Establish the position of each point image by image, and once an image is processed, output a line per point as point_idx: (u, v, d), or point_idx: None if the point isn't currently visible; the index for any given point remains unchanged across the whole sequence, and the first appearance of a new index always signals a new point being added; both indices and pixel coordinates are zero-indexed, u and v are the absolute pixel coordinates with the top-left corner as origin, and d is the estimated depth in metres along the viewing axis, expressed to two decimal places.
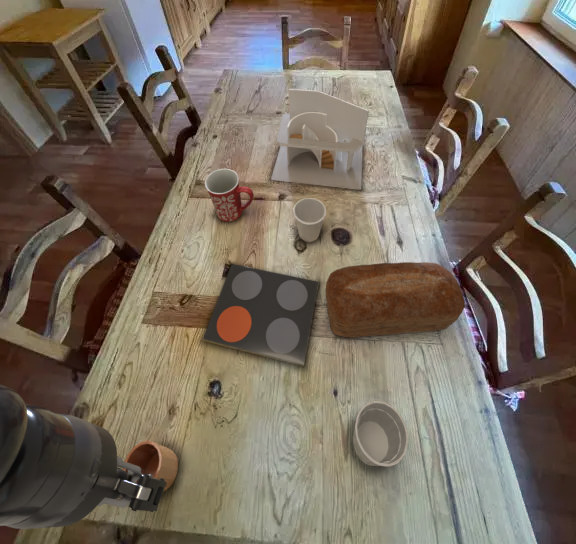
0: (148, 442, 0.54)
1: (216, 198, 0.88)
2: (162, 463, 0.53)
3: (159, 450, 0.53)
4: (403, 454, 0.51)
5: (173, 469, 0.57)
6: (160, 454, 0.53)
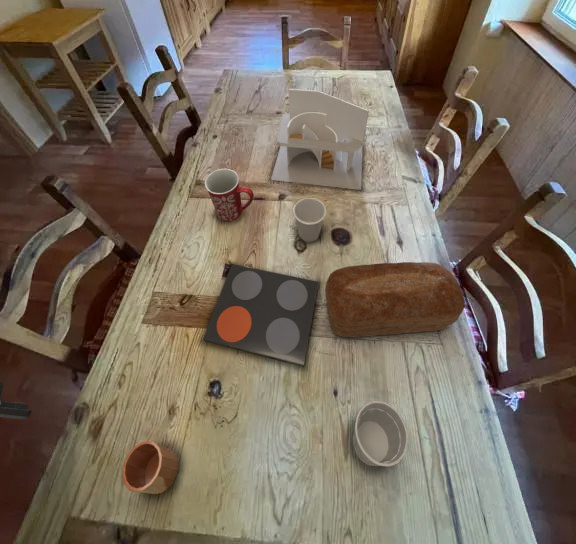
0: (148, 442, 0.54)
1: (215, 198, 0.88)
2: (162, 463, 0.53)
3: (159, 450, 0.53)
4: (403, 454, 0.51)
5: (173, 469, 0.57)
6: (160, 454, 0.53)
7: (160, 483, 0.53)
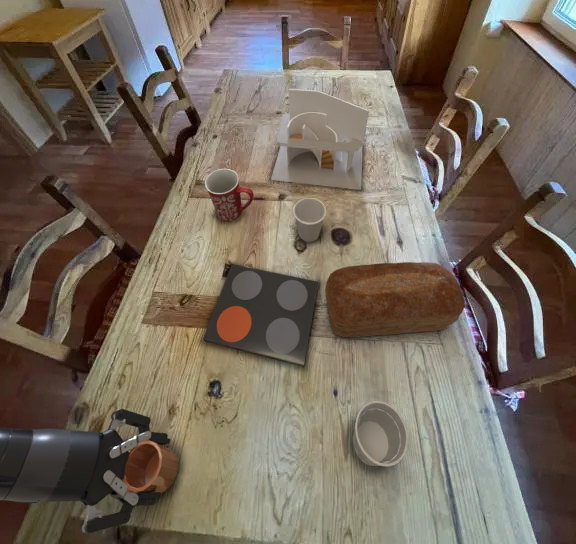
0: (148, 442, 0.54)
1: (216, 198, 0.88)
2: (162, 463, 0.53)
3: (159, 450, 0.53)
4: (403, 454, 0.51)
5: (173, 469, 0.57)
6: (160, 454, 0.53)
7: (160, 483, 0.53)
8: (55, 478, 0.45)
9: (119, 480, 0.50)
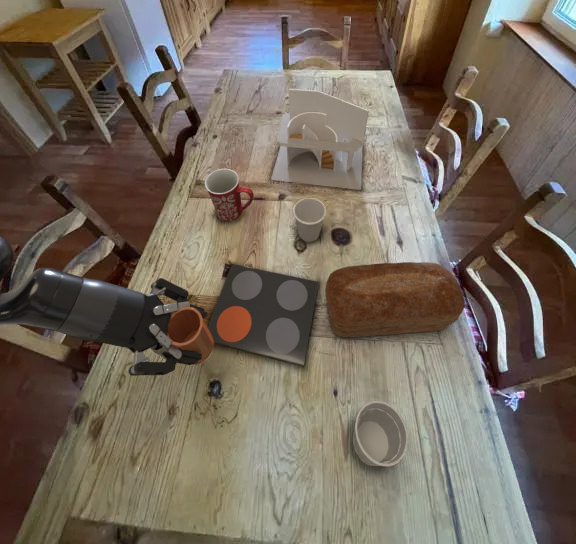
0: (188, 308, 0.55)
1: (216, 198, 0.88)
2: (203, 325, 0.54)
3: (199, 314, 0.55)
4: (403, 454, 0.51)
5: (210, 341, 0.58)
6: (201, 317, 0.54)
7: (200, 346, 0.55)
8: (106, 315, 0.46)
9: (163, 334, 0.51)
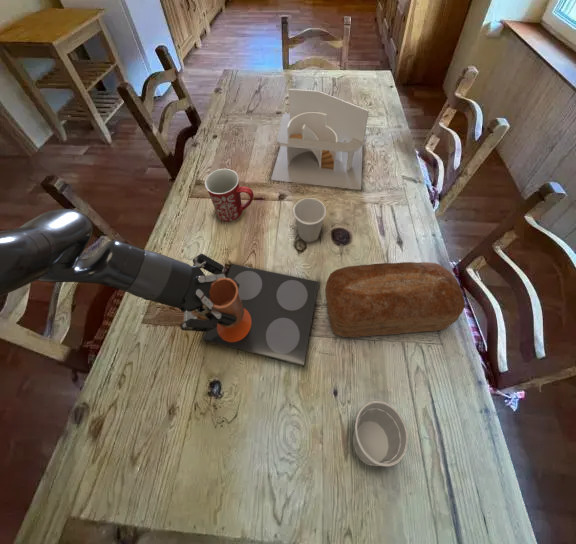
0: (225, 278, 0.66)
1: (216, 198, 0.88)
2: (238, 292, 0.65)
3: (235, 283, 0.65)
4: (403, 454, 0.51)
5: (242, 308, 0.69)
6: (236, 285, 0.65)
7: (235, 310, 0.65)
8: (164, 279, 0.56)
9: (207, 298, 0.62)
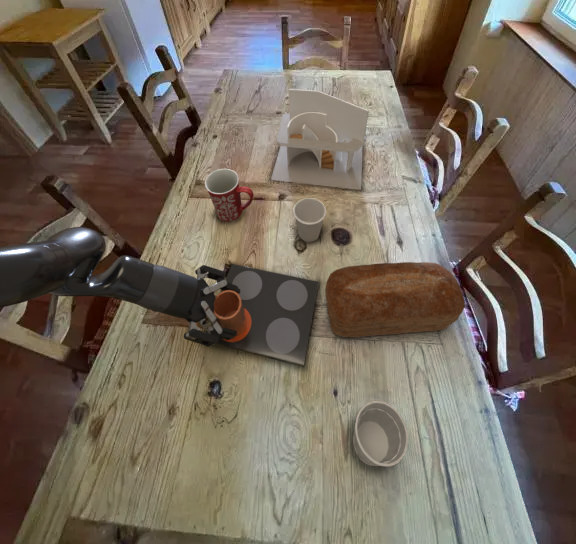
0: (229, 291, 0.70)
1: (216, 198, 0.88)
2: (241, 304, 0.68)
3: (238, 295, 0.69)
4: (403, 454, 0.51)
5: (245, 318, 0.73)
6: (239, 297, 0.69)
7: (239, 321, 0.69)
8: (172, 292, 0.60)
9: (211, 311, 0.65)
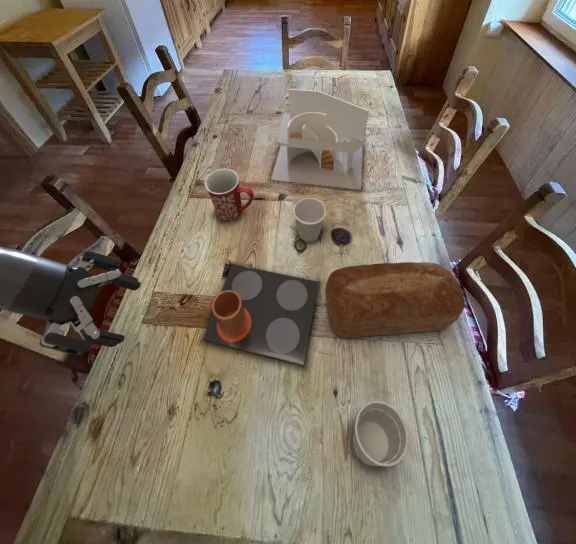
0: (229, 291, 0.70)
1: (215, 198, 0.88)
2: (241, 304, 0.68)
3: (238, 295, 0.69)
4: (403, 454, 0.51)
5: (245, 318, 0.73)
6: (239, 297, 0.69)
7: (239, 321, 0.69)
8: (19, 284, 0.45)
9: (85, 310, 0.50)
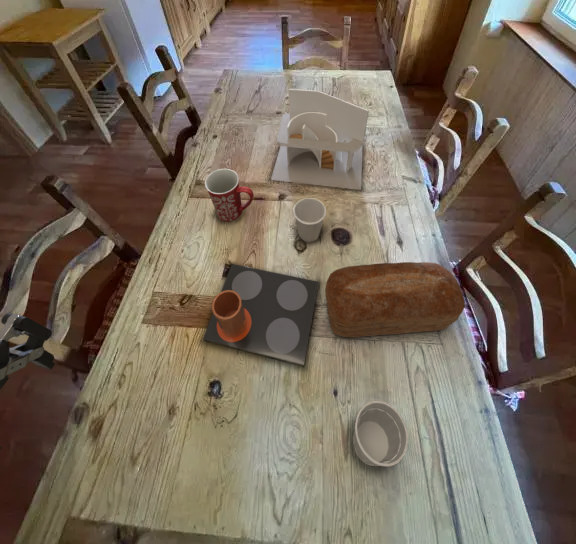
0: (229, 291, 0.70)
1: (215, 198, 0.88)
2: (241, 304, 0.68)
3: (238, 295, 0.69)
4: (403, 454, 0.51)
5: (245, 318, 0.73)
6: (239, 297, 0.69)
7: (239, 321, 0.69)
8: None
9: None
